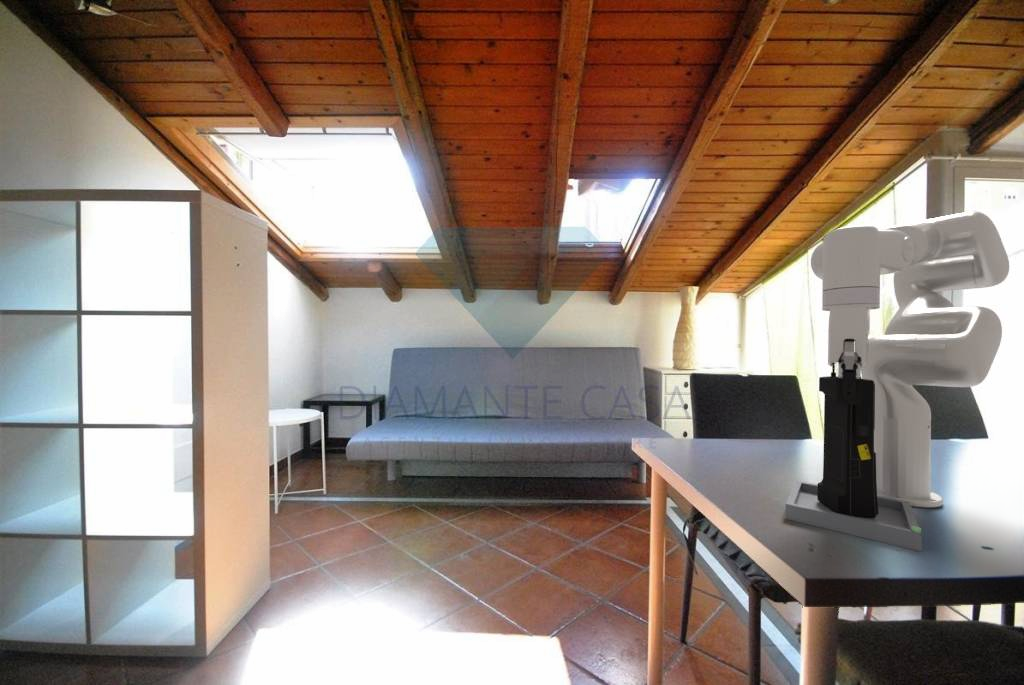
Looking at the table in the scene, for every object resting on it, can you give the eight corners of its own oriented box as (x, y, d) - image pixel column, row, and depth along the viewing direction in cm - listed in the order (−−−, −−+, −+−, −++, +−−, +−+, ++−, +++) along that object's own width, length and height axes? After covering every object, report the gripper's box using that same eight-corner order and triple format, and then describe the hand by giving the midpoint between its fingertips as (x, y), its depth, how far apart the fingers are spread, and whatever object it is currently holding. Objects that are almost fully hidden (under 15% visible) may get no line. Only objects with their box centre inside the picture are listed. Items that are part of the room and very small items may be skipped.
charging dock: (795, 493, 79) (796, 477, 79) (909, 516, 69) (909, 498, 69) (785, 518, 67) (785, 500, 67) (921, 551, 57) (921, 529, 57)
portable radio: (885, 522, 64) (888, 366, 64) (842, 518, 65) (845, 365, 65) (854, 502, 72) (856, 363, 72) (816, 499, 73) (818, 362, 73)
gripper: (824, 306, 77) (824, 394, 77) (819, 297, 64) (818, 403, 64) (877, 304, 73) (876, 398, 72) (882, 293, 59) (882, 409, 59)
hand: (849, 401), depth 68 cm, fingers open, 9 cm apart
